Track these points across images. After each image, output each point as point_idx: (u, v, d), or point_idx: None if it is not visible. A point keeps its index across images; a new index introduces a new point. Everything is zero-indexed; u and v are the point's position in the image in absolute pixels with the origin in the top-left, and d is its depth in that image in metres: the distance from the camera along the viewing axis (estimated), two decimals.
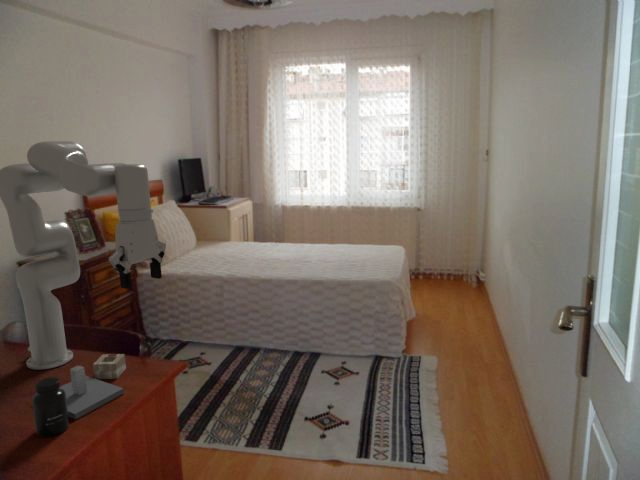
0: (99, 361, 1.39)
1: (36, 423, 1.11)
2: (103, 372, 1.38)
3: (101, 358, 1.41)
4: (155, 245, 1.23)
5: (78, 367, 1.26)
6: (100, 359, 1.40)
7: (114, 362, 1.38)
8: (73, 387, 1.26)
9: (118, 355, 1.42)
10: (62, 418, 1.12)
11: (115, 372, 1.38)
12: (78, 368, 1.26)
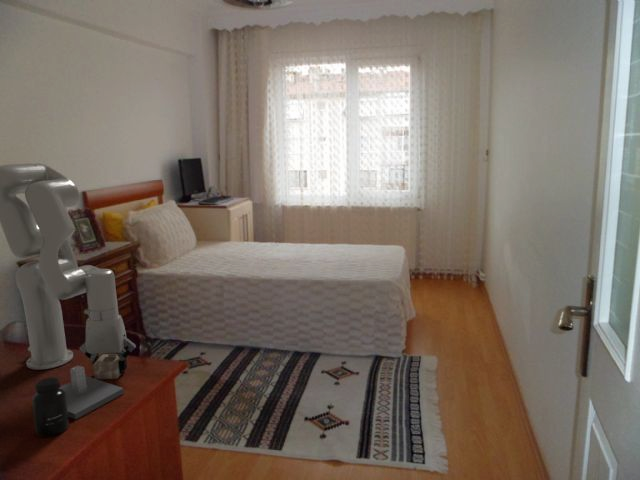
0: (99, 361, 1.39)
1: (36, 423, 1.11)
2: (103, 372, 1.38)
3: (101, 358, 1.41)
4: None
5: (78, 367, 1.26)
6: (100, 359, 1.40)
7: (114, 362, 1.38)
8: (73, 387, 1.26)
9: None
10: (62, 418, 1.12)
11: (115, 372, 1.38)
12: (78, 368, 1.26)
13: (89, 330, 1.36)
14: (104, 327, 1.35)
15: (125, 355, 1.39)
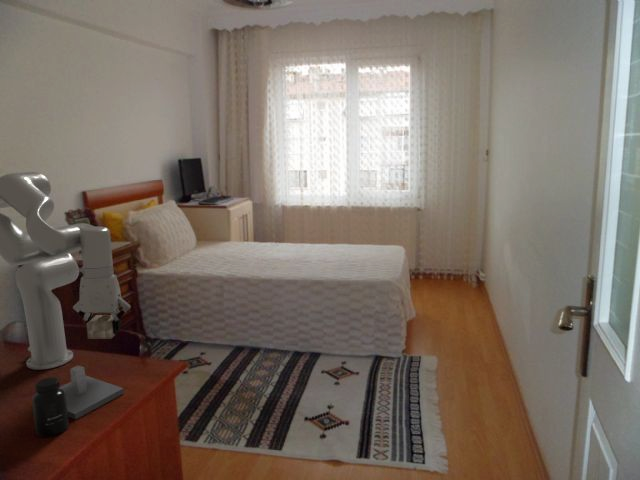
0: (92, 320, 1.37)
1: (36, 423, 1.11)
2: (96, 332, 1.35)
3: (95, 318, 1.38)
4: None
5: (78, 367, 1.26)
6: (94, 319, 1.38)
7: (108, 322, 1.36)
8: (73, 387, 1.26)
9: None
10: (62, 418, 1.12)
11: (109, 332, 1.35)
12: (78, 368, 1.26)
13: (83, 288, 1.33)
14: (98, 285, 1.33)
15: (119, 315, 1.37)
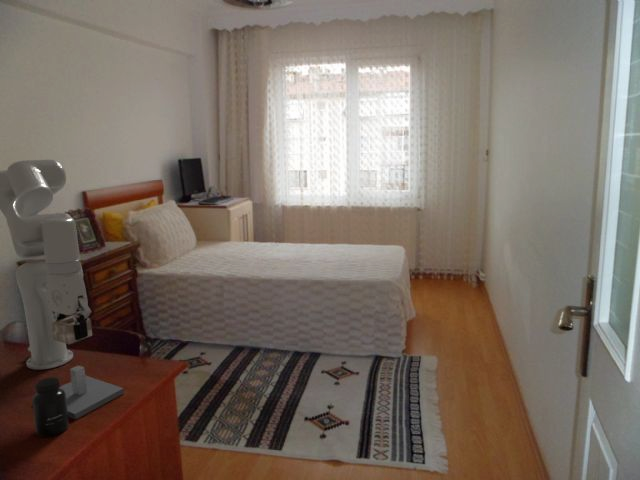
0: (60, 321, 1.23)
1: (36, 423, 1.11)
2: (58, 334, 1.21)
3: (66, 318, 1.25)
4: None
5: (78, 367, 1.26)
6: (64, 319, 1.24)
7: (68, 325, 1.20)
8: (73, 387, 1.26)
9: None
10: (62, 418, 1.12)
11: (67, 337, 1.20)
12: (78, 368, 1.26)
13: (47, 284, 1.21)
14: (57, 283, 1.18)
15: (80, 320, 1.20)
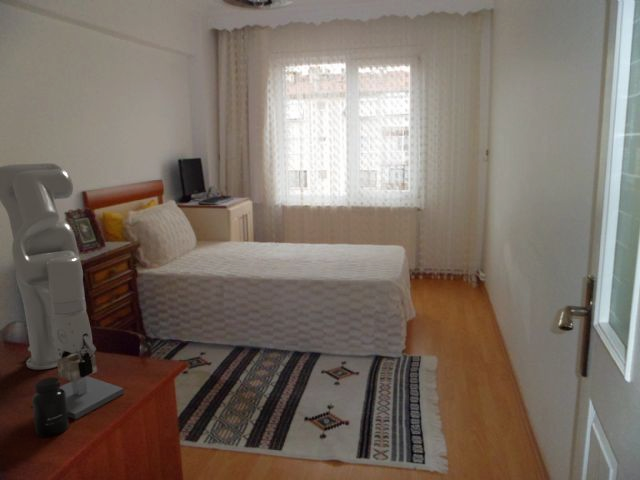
0: (65, 358, 1.25)
1: (36, 423, 1.11)
2: (64, 371, 1.23)
3: (71, 355, 1.27)
4: None
5: None
6: (69, 356, 1.26)
7: (73, 363, 1.22)
8: (73, 387, 1.26)
9: None
10: (62, 418, 1.12)
11: (72, 374, 1.22)
12: None
13: (53, 322, 1.23)
14: (62, 322, 1.20)
15: (85, 357, 1.22)
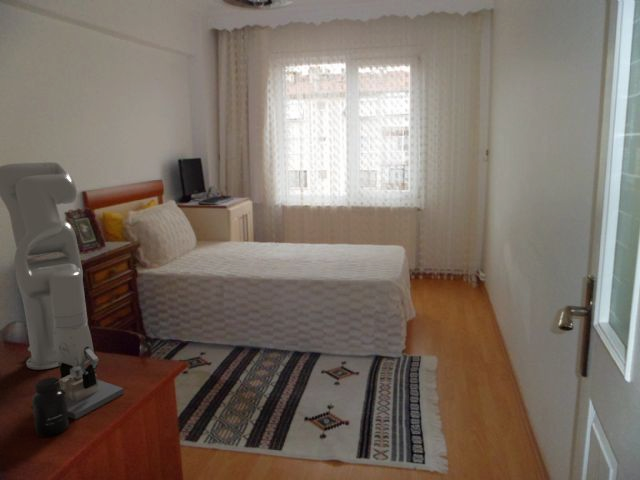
0: (67, 377, 1.26)
1: (36, 423, 1.11)
2: (66, 391, 1.25)
3: None
4: None
5: (78, 367, 1.26)
6: None
7: (75, 383, 1.23)
8: None
9: None
10: (62, 418, 1.12)
11: (74, 394, 1.23)
12: (78, 368, 1.26)
13: (54, 335, 1.23)
14: (64, 335, 1.21)
15: (88, 368, 1.22)
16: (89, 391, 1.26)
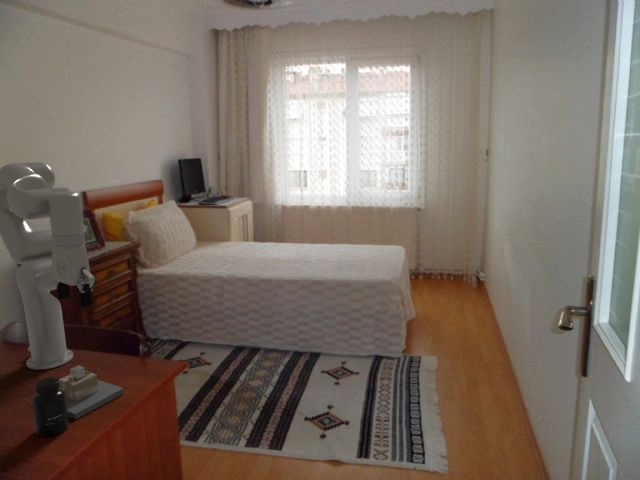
0: (67, 377, 1.26)
1: (36, 423, 1.11)
2: (66, 391, 1.25)
3: None
4: None
5: (78, 367, 1.26)
6: None
7: (75, 383, 1.23)
8: None
9: (90, 374, 1.28)
10: (62, 418, 1.12)
11: (74, 394, 1.23)
12: (78, 368, 1.26)
13: (53, 255, 1.27)
14: (62, 254, 1.24)
15: (84, 287, 1.25)
16: (89, 391, 1.26)
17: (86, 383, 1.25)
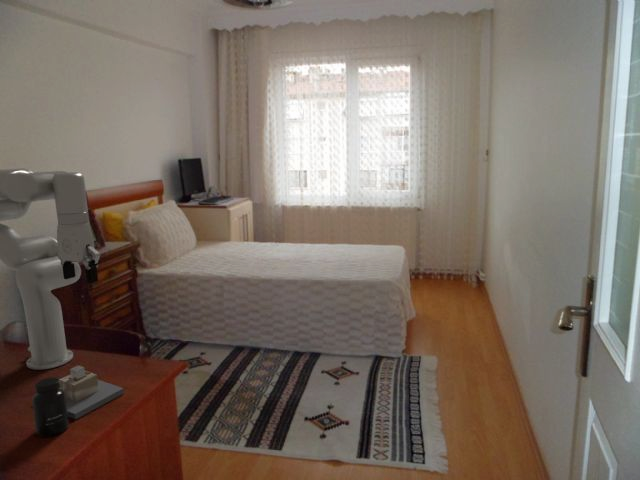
0: (67, 377, 1.26)
1: (36, 423, 1.11)
2: (66, 391, 1.25)
3: None
4: None
5: (78, 367, 1.26)
6: None
7: (75, 383, 1.23)
8: None
9: (90, 374, 1.28)
10: (62, 418, 1.12)
11: (74, 394, 1.23)
12: (78, 368, 1.26)
13: (58, 234, 1.32)
14: (67, 232, 1.29)
15: (90, 263, 1.30)
16: (89, 391, 1.26)
17: (86, 383, 1.25)
